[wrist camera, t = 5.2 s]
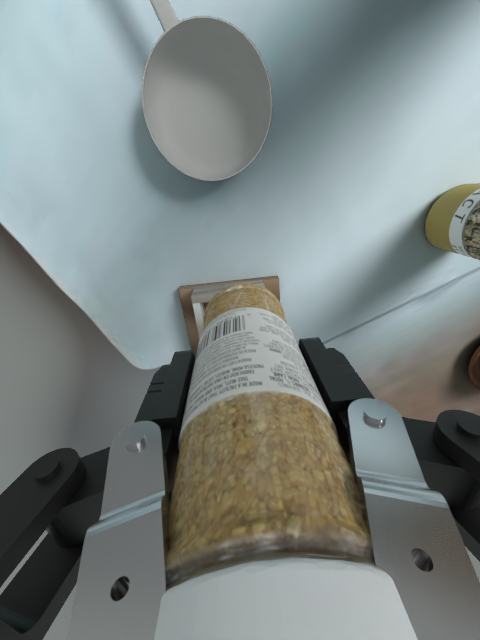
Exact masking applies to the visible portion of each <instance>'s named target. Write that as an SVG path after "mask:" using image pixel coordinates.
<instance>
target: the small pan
mask: <svg viewBox="0 0 480 640" xmlns="http://www.w3.org/2000/svg"><path fill="white" fill-rule="evenodd" d="M150 2H151V4H152V6H153V8H154V10H155V12H156V15H157V17H158V19H159V21H160V23H161V26H162V28H163V30H164V33H163V34H162V35H161V37H160V38H159V39H158V41H157V42H156V44H155V45H154V46H153V48H152V51H151V53H150V55H149V57H148V59H147V63H146V66H145V70H144V73H143V81H142V106H143V112H144V118H145V121H146V124H147V127H148V131H149V133H150V135H151V137H152V139H153V141H154V143H155V145H156V146H157V148H158V149H159V151H160V153H161V154H162V155H163V156H164V157H165V158H166V160H167V161H168V162H169V163H170V164H171V165H173V166H174V167H175V168H176V169H177V170H179V171H181V172H182V173H184V174H186V175H188V176H190V177H193V178H196V179H199V180H205V181H218V180H223V179H227V178H229V177H232V176H234V175H236V174H238V173H239V172H241V171H242V170H243V169H245V168H246V167H247V166H248V165H249V164H250V163H251V162H252V161H253V160H254V159H255V157H256V156H257V154H258V153H259V151H260V150H261V148H262V146H263V144H264V142H265V140H266V137H267V134H268V130H269V127H270V122H271V115H272V92H271V84H270V80H269V76H268V73H267V69H266V67H265V64H264V62H263V60H262V57H261V55H260V54H259V52H258V51H257V49H256V47H255V46H254V44H253V43H252V42H251V41H250V39H249V38H248V37H247V36H246V35H245V34H244V33H243V32H242V31H241V30H239V29H238V28H237V27H235V26H234V25H233V24H231V23H229V22H227V21H224V20H222V19H220V18H216V17H211V16H194V17H190V18H187V19H183V20H181V21H178V19H177V16H176V14H175V12H174V9H173V7H172V5H171V3H170V0H150Z"/></svg>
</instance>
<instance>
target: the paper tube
mask: <svg viewBox="0 0 480 640" xmlns="http://www.w3.org/2000/svg"><path fill="white" fill-rule="evenodd" d="M425 232H426V236H427V239H428V240H429V242H430V243H431V244H432V245H433V246H435V247H437V248H440V249H443V250H447V251H450V252H454V253H458V254H461V255H464V256H468V257H472V258H475V259H479V260H480V183H479V184H464V185H459V186H457V187H454V188H452V189H450V190H449V191H447V192H446V193H444V194H443V195H442V196H441V197H440V198H439V199H438V200H437V201H436V202H435V203H434V204H433V206H432V207H431V209H430V211H429V213H428V215H427V218H426V222H425Z"/></svg>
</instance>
